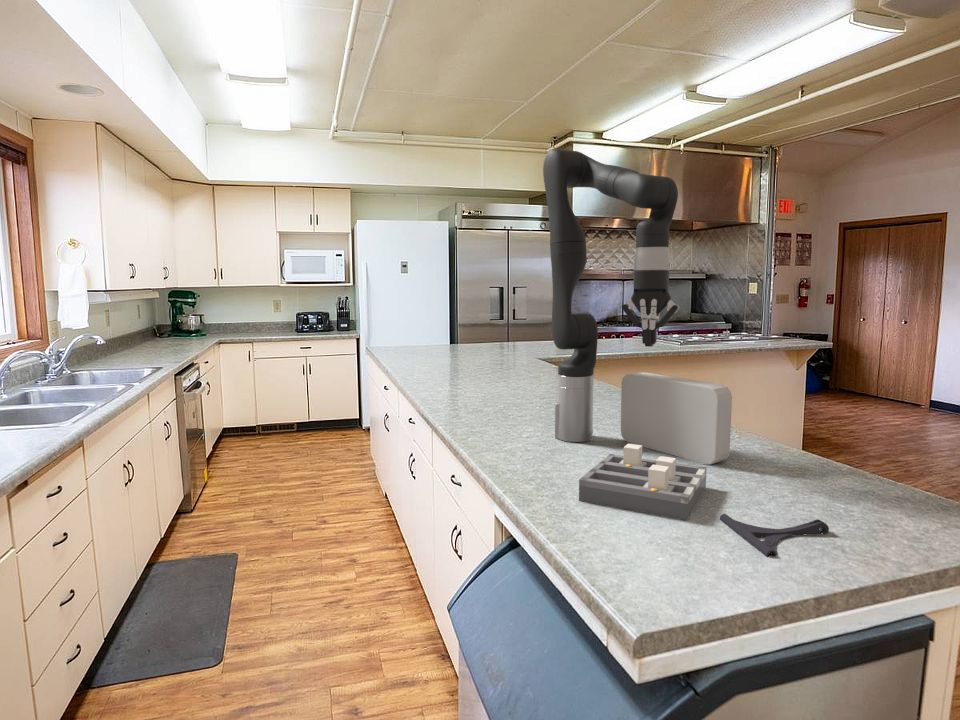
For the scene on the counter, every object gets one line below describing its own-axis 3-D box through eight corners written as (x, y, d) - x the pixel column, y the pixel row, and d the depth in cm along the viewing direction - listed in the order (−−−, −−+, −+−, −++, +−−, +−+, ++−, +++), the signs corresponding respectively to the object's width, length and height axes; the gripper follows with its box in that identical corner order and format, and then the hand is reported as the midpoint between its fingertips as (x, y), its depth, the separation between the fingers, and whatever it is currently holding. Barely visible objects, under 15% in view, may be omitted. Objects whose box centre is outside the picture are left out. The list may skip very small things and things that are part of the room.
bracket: (857, 555, 92) (858, 538, 92) (766, 560, 91) (767, 543, 90) (798, 519, 106) (799, 504, 106) (719, 523, 105) (719, 508, 105)
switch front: (642, 491, 110) (642, 468, 109) (646, 485, 113) (647, 463, 112) (670, 495, 107) (670, 472, 107) (674, 489, 110) (674, 467, 110)
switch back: (618, 466, 124) (618, 446, 123) (623, 462, 127) (623, 442, 126) (642, 470, 122) (642, 449, 121) (646, 465, 125) (647, 445, 124)
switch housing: (578, 500, 114) (579, 478, 114) (609, 472, 131) (610, 453, 130) (687, 520, 104) (688, 496, 104) (705, 487, 121) (706, 466, 120)
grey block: (735, 461, 138) (739, 384, 135) (715, 467, 134) (718, 388, 131) (639, 435, 161) (641, 370, 159) (620, 440, 157) (621, 372, 155)
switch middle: (650, 481, 115) (650, 459, 114) (654, 476, 118) (655, 455, 117) (676, 485, 112) (677, 463, 112) (680, 480, 115) (681, 458, 115)
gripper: (617, 268, 132) (615, 346, 135) (678, 267, 126) (675, 349, 128) (626, 269, 139) (625, 343, 141) (685, 268, 132) (683, 345, 134)
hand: (649, 346), depth 134 cm, fingers closed
